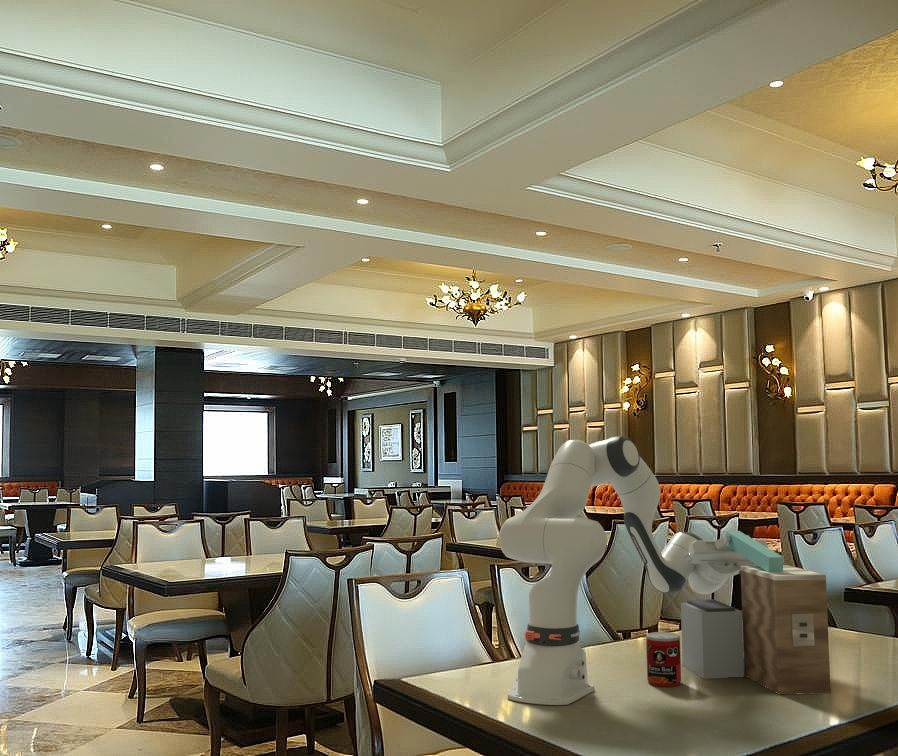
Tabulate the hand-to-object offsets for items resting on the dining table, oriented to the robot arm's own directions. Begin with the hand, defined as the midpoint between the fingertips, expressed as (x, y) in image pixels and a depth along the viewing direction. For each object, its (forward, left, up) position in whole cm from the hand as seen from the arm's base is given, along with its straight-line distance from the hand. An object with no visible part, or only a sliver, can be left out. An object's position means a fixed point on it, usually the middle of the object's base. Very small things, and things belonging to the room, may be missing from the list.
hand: (737, 538), depth 226 cm
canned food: (-23, +16, -32) cm, 42 cm away
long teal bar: (-7, -4, -4) cm, 9 cm away
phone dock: (-7, +7, -32) cm, 33 cm away
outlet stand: (-13, -11, -32) cm, 36 cm away
